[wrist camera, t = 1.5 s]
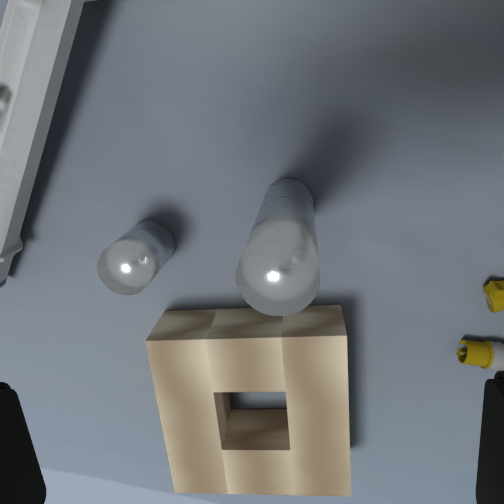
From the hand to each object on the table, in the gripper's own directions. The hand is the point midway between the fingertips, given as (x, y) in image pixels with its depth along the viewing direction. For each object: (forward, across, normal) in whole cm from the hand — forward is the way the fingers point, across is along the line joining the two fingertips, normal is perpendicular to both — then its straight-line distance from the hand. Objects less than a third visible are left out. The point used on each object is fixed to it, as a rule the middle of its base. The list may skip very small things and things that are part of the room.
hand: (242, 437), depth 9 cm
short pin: (+20, +8, +2) cm, 21 cm away
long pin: (+20, -1, 0) cm, 20 cm away
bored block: (+20, +2, +13) cm, 24 cm away
